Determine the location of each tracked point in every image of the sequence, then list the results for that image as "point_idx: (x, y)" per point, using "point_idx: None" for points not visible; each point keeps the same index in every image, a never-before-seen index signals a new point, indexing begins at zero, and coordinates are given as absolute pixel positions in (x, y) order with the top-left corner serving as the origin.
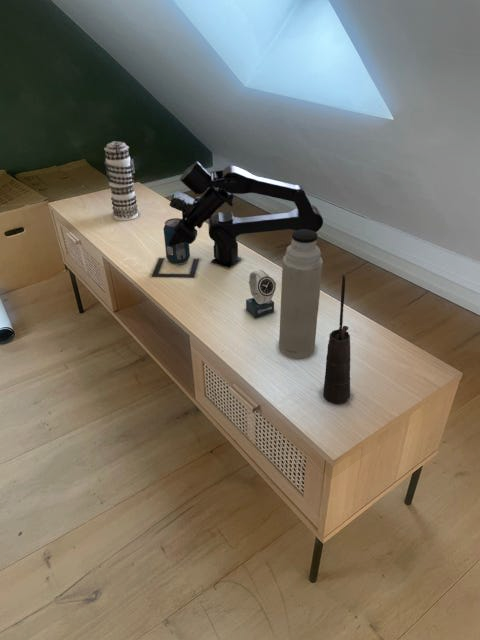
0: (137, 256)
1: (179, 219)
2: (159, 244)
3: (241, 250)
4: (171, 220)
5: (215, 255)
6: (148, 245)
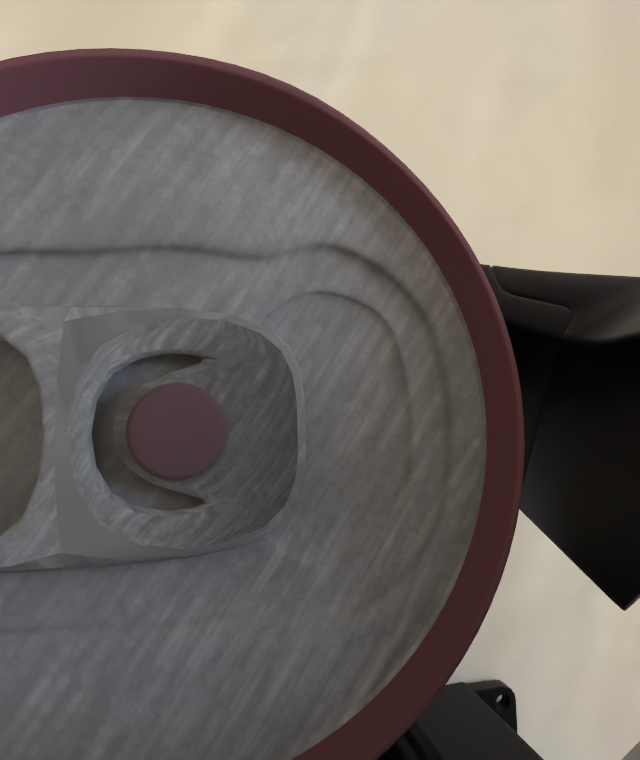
0: (24, 41)
1: (481, 352)
2: (332, 87)
3: (626, 731)
4: (294, 166)
5: (395, 753)
6: (262, 12)
